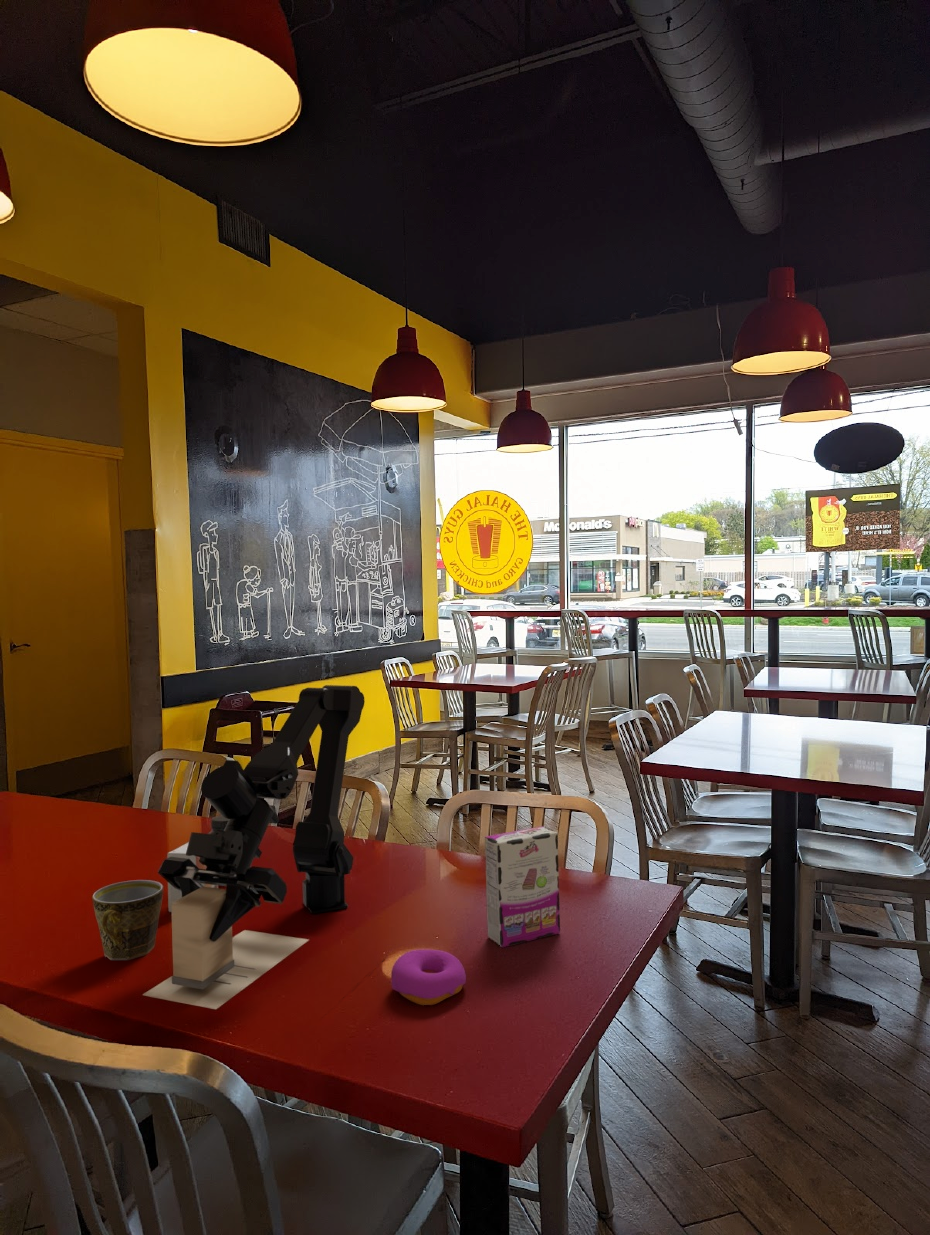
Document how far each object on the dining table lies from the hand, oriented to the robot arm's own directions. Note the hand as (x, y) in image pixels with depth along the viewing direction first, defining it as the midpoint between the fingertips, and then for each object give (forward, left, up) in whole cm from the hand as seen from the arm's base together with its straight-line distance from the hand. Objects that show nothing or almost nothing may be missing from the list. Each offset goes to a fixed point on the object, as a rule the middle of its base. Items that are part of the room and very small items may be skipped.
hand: (196, 938), depth 111 cm
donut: (-29, +13, -8) cm, 33 cm away
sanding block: (-1, -1, -6) cm, 6 cm away
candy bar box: (-49, +3, -8) cm, 50 cm away
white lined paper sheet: (-5, -5, -8) cm, 11 cm away
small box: (-3, -35, -8) cm, 36 cm away
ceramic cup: (+9, -16, -8) cm, 20 cm away
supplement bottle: (-10, -47, -8) cm, 49 cm away
